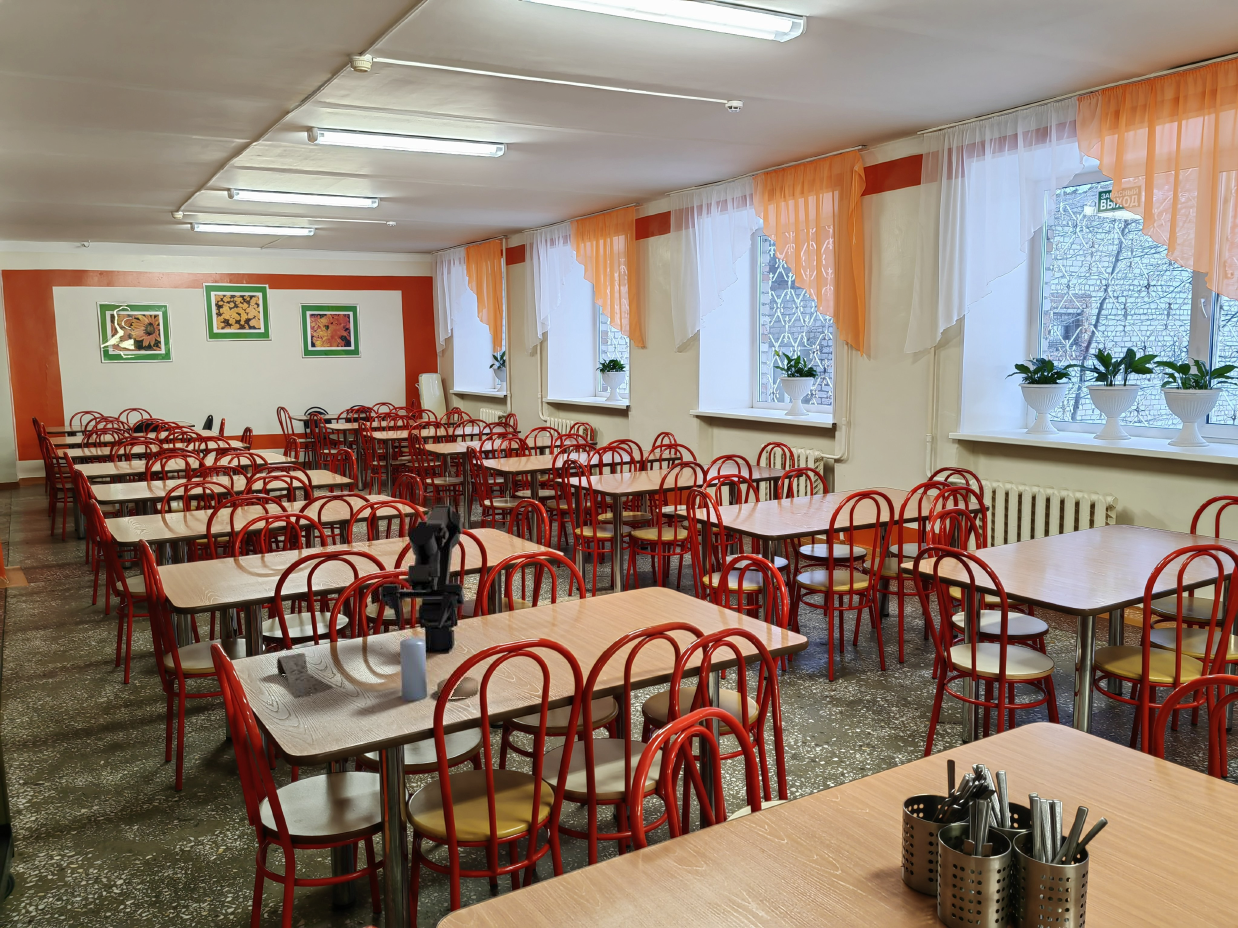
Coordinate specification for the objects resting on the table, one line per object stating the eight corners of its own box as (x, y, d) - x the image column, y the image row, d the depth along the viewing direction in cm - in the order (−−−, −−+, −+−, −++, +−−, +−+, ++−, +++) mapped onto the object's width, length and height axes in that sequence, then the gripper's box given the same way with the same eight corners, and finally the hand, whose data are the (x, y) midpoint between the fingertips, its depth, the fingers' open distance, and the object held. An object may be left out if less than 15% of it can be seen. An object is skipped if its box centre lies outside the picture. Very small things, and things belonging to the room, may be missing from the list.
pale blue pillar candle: (398, 700, 204) (396, 645, 203) (406, 691, 209) (404, 637, 208) (423, 701, 204) (421, 645, 202) (429, 692, 209) (428, 637, 208)
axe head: (340, 684, 210) (295, 693, 205) (340, 704, 211) (295, 714, 206) (312, 647, 226) (269, 654, 221) (312, 666, 228) (270, 674, 222)
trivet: (432, 699, 205) (432, 690, 205) (443, 684, 214) (442, 676, 213) (473, 699, 204) (473, 690, 204) (482, 685, 213) (482, 676, 213)
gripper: (380, 550, 216) (370, 610, 206) (461, 549, 216) (455, 608, 207) (388, 575, 225) (380, 634, 215) (467, 574, 225) (461, 633, 215)
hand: (419, 627), depth 213 cm, fingers open, 9 cm apart
